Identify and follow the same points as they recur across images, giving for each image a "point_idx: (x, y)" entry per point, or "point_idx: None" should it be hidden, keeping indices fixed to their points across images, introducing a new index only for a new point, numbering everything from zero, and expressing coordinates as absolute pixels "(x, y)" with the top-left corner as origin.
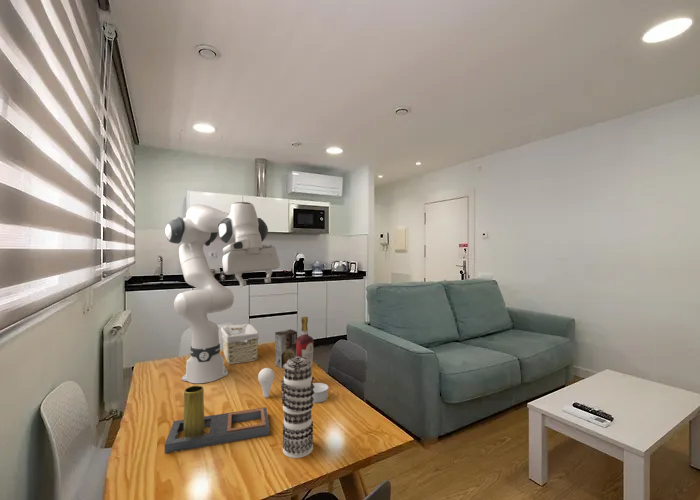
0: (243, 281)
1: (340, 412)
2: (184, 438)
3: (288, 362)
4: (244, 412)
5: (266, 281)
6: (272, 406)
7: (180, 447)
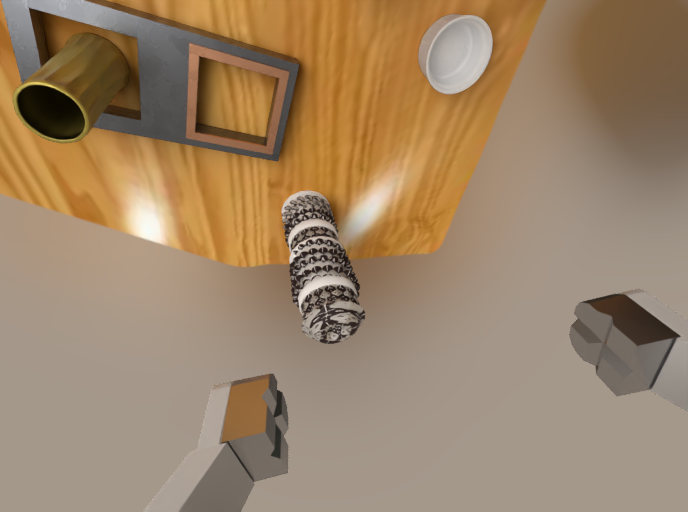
0: (250, 469)
1: (431, 146)
2: None
3: (313, 333)
4: (236, 65)
5: (581, 339)
6: (327, 16)
7: None
